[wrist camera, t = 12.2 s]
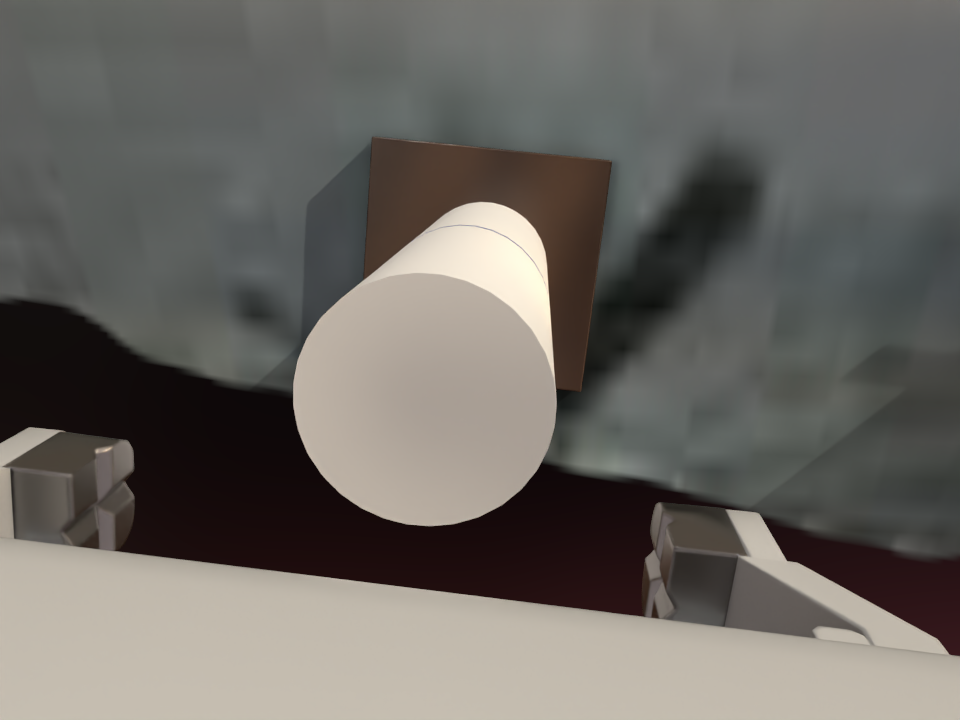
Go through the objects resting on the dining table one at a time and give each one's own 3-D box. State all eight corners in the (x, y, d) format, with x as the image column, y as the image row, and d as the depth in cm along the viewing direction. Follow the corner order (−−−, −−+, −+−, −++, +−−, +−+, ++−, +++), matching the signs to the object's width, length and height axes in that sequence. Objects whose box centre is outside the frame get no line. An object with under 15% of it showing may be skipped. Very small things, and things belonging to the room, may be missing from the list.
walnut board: (610, 160, 46) (612, 161, 45) (580, 386, 49) (580, 392, 48) (376, 136, 46) (371, 136, 45) (361, 361, 50) (357, 366, 49)
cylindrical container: (557, 212, 46) (578, 296, 22) (535, 338, 48) (532, 545, 23) (427, 192, 46) (305, 252, 22) (411, 318, 48) (282, 503, 24)
